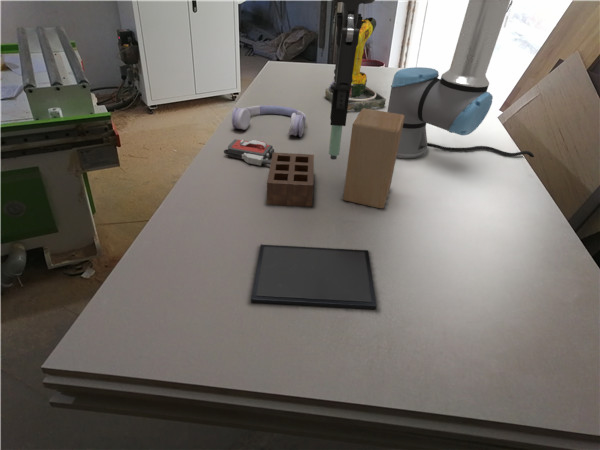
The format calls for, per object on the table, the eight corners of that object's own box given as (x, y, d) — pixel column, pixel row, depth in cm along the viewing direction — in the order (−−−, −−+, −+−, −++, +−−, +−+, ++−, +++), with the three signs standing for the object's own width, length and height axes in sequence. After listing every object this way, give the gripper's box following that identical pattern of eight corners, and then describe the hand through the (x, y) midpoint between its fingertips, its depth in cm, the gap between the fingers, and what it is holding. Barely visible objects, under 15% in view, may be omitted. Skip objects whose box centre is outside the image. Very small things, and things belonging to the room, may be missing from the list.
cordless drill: (389, 107, 150) (403, 24, 133) (344, 112, 143) (353, 27, 127) (363, 91, 163) (373, 15, 147) (321, 96, 157) (327, 17, 140)
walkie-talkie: (220, 159, 112) (288, 172, 108) (219, 145, 110) (289, 157, 106) (233, 146, 119) (298, 158, 115) (232, 132, 117) (298, 143, 112)
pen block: (312, 174, 108) (313, 154, 104) (311, 206, 96) (313, 185, 92) (272, 172, 108) (272, 152, 104) (267, 204, 96) (266, 182, 92)
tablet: (367, 253, 83) (368, 249, 82) (375, 309, 71) (376, 305, 70) (260, 247, 83) (260, 243, 82) (251, 302, 71) (251, 298, 70)
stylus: (338, 156, 79) (348, 66, 69) (338, 161, 78) (349, 70, 68) (328, 155, 79) (337, 66, 69) (328, 160, 78) (337, 69, 68)
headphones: (300, 141, 123) (311, 120, 140) (301, 118, 119) (313, 100, 136) (230, 132, 126) (249, 113, 143) (229, 110, 123) (249, 93, 139)
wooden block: (389, 189, 104) (405, 114, 92) (383, 209, 96) (399, 130, 84) (351, 181, 106) (362, 107, 94) (342, 200, 98) (352, 122, 86)
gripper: (328, -35, 66) (318, 105, 80) (329, -26, 54) (316, 137, 68) (374, -32, 66) (355, 108, 80) (385, -23, 54) (360, 140, 68)
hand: (337, 121), depth 74 cm, fingers closed on stylus, 2 cm apart
